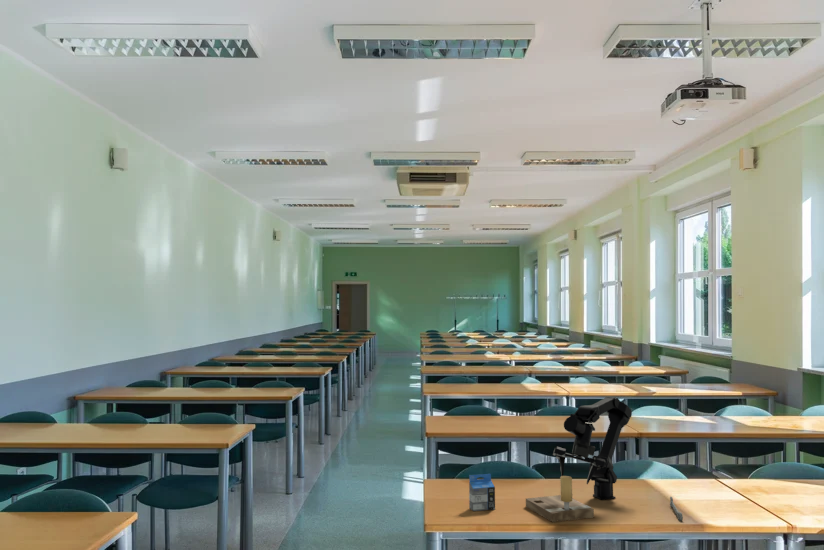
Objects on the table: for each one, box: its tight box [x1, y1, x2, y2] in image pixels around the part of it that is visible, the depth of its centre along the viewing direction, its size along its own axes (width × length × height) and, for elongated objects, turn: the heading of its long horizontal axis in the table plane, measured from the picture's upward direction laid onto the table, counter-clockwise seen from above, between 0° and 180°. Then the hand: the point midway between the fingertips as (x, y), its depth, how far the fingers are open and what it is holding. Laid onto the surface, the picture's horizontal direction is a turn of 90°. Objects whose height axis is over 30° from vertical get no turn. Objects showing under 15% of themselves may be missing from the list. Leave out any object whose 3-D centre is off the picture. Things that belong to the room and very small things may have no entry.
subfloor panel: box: [525, 494, 595, 523], centre depth 246 cm, size 16×20×3 cm
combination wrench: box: [669, 496, 684, 522], centre depth 243 cm, size 4×1×20 cm
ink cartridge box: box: [468, 473, 496, 512], centre depth 251 cm, size 9×4×12 cm, turn 105°
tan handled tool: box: [559, 475, 573, 511], centre depth 239 cm, size 4×4×14 cm
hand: (574, 480), depth 250 cm, fingers open, 9 cm apart
